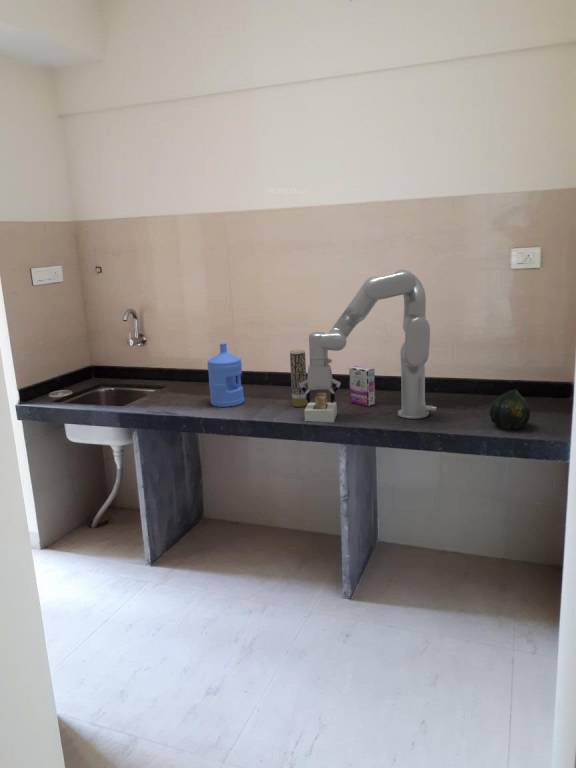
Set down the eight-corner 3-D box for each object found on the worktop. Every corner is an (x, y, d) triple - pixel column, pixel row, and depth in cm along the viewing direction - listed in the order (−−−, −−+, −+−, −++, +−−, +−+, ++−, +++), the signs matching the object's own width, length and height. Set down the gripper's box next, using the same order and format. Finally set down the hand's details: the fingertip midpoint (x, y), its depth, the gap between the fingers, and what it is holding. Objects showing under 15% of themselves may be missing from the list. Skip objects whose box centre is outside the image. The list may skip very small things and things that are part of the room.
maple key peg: (327, 415, 269) (326, 393, 267) (325, 420, 264) (324, 396, 261) (318, 415, 270) (317, 393, 268) (316, 420, 264) (315, 396, 262)
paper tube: (289, 405, 288) (286, 351, 282) (300, 402, 292) (298, 349, 286) (299, 408, 283) (296, 353, 277) (310, 405, 287) (308, 350, 281)
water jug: (205, 407, 292) (200, 347, 285) (217, 398, 307) (212, 341, 300) (238, 408, 288) (233, 347, 281) (248, 398, 303) (244, 341, 296)
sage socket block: (336, 413, 272) (336, 402, 270) (333, 422, 260) (333, 410, 259) (309, 413, 274) (308, 402, 273) (304, 422, 262) (304, 410, 261)
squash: (485, 418, 237) (514, 389, 233) (480, 408, 252) (507, 380, 248) (514, 443, 237) (543, 413, 234) (507, 431, 252) (534, 404, 248)
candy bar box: (375, 404, 283) (375, 368, 279) (368, 407, 279) (367, 370, 275) (357, 400, 291) (356, 365, 287) (349, 402, 288) (348, 367, 284)
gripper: (340, 360, 263) (342, 399, 267) (299, 360, 266) (301, 400, 271) (339, 363, 256) (340, 404, 260) (296, 364, 259) (298, 404, 263)
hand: (320, 402), depth 265 cm, fingers open, 9 cm apart
